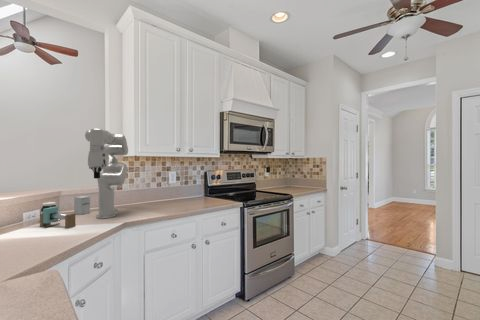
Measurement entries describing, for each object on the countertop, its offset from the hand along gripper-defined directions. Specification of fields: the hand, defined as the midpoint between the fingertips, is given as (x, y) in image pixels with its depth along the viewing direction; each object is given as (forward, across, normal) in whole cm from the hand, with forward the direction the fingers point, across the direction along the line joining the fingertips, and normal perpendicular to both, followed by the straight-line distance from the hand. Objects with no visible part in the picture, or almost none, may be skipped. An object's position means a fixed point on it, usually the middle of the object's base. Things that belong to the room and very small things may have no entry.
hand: (96, 178), depth 145 cm
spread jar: (+29, +38, -4) cm, 48 cm away
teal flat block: (+27, +26, +7) cm, 38 cm away
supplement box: (+29, +35, -25) cm, 52 cm away
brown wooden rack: (+29, +21, +7) cm, 37 cm away
